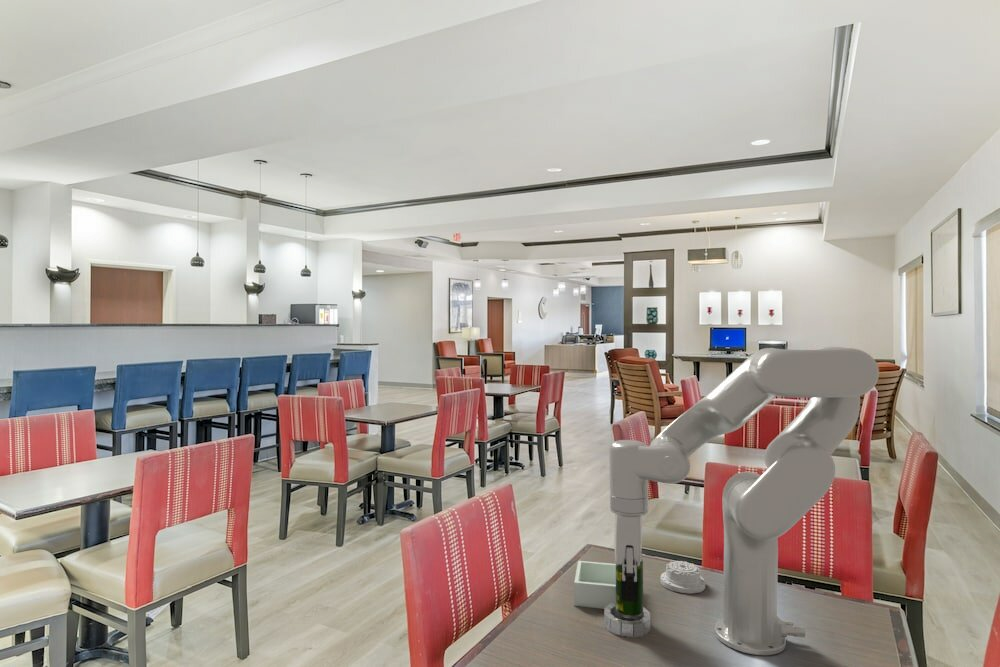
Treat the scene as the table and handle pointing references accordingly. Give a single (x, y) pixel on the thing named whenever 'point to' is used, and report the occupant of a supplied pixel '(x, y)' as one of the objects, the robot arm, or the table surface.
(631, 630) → the collar
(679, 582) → the mechanical component
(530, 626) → the table surface
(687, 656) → the table surface
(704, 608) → the table surface
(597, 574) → the bin
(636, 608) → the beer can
